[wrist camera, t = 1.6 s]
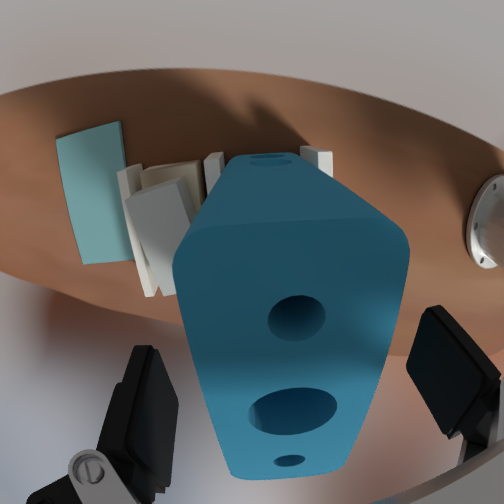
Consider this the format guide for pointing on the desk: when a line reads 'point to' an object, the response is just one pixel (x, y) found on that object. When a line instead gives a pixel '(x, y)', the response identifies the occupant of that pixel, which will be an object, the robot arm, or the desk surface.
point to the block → (288, 312)
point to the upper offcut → (162, 225)
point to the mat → (96, 192)
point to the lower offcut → (175, 170)
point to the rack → (213, 170)
